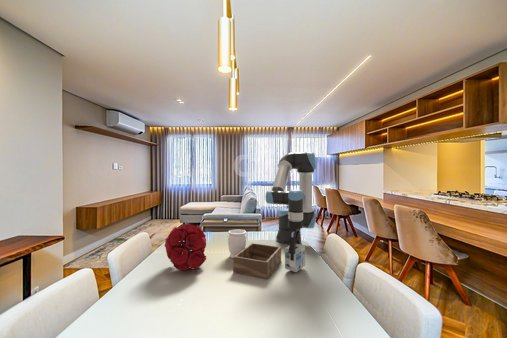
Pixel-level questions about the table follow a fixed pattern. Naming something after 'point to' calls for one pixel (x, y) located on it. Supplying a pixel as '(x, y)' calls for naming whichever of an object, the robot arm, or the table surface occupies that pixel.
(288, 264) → the light bulb box
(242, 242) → the jar
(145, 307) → the table surface
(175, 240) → the bouquet
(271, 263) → the walnut crate
